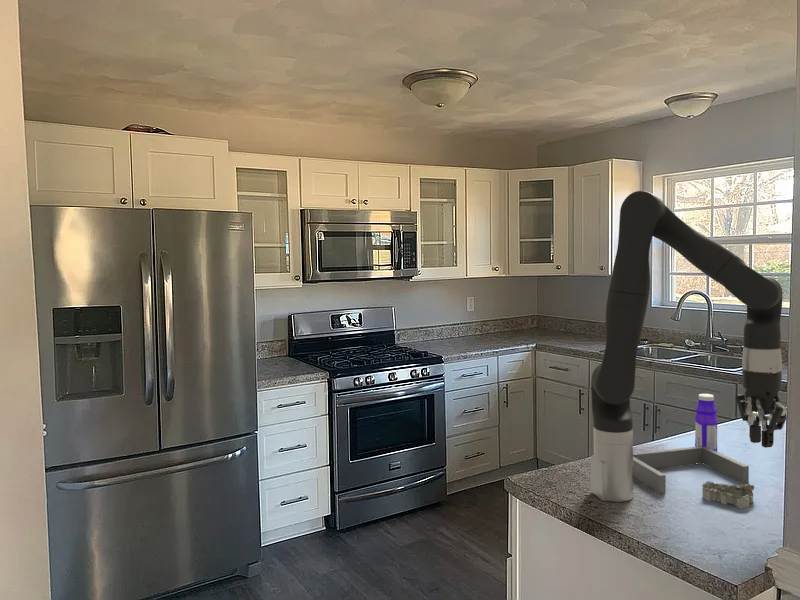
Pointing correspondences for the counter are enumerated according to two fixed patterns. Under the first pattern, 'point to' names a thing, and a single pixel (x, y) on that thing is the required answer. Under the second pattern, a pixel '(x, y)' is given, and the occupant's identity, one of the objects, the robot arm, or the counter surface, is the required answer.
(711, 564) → the counter surface
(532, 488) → the counter surface
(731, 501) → the egg carton
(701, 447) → the box
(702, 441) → the bottle
